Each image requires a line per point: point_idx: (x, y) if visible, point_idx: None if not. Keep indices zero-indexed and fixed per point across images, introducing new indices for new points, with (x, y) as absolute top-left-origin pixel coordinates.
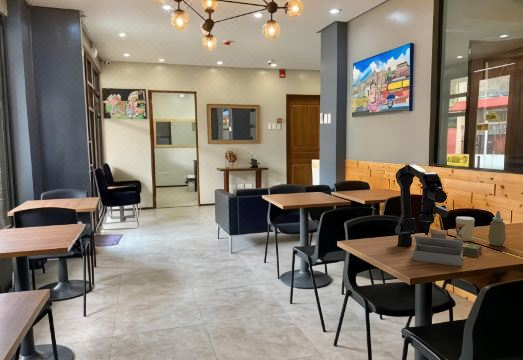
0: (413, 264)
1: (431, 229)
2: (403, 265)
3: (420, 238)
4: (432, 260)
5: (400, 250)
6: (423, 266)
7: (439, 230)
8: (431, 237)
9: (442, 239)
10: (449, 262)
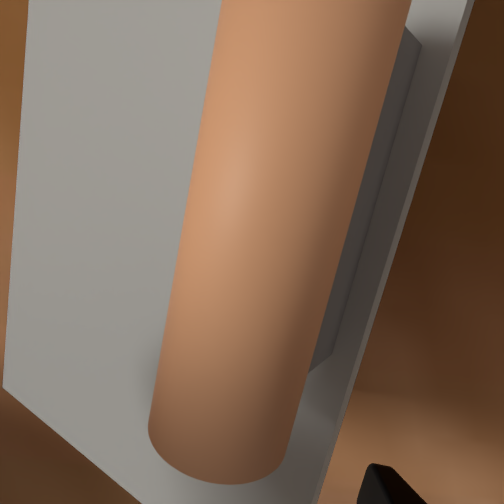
0: (447, 395)
1: (241, 456)
2: (489, 474)
3: (252, 482)
4: None
5: (10, 450)
6: (499, 320)
7: (317, 214)
8: (359, 354)
9: (434, 124)
10: None
